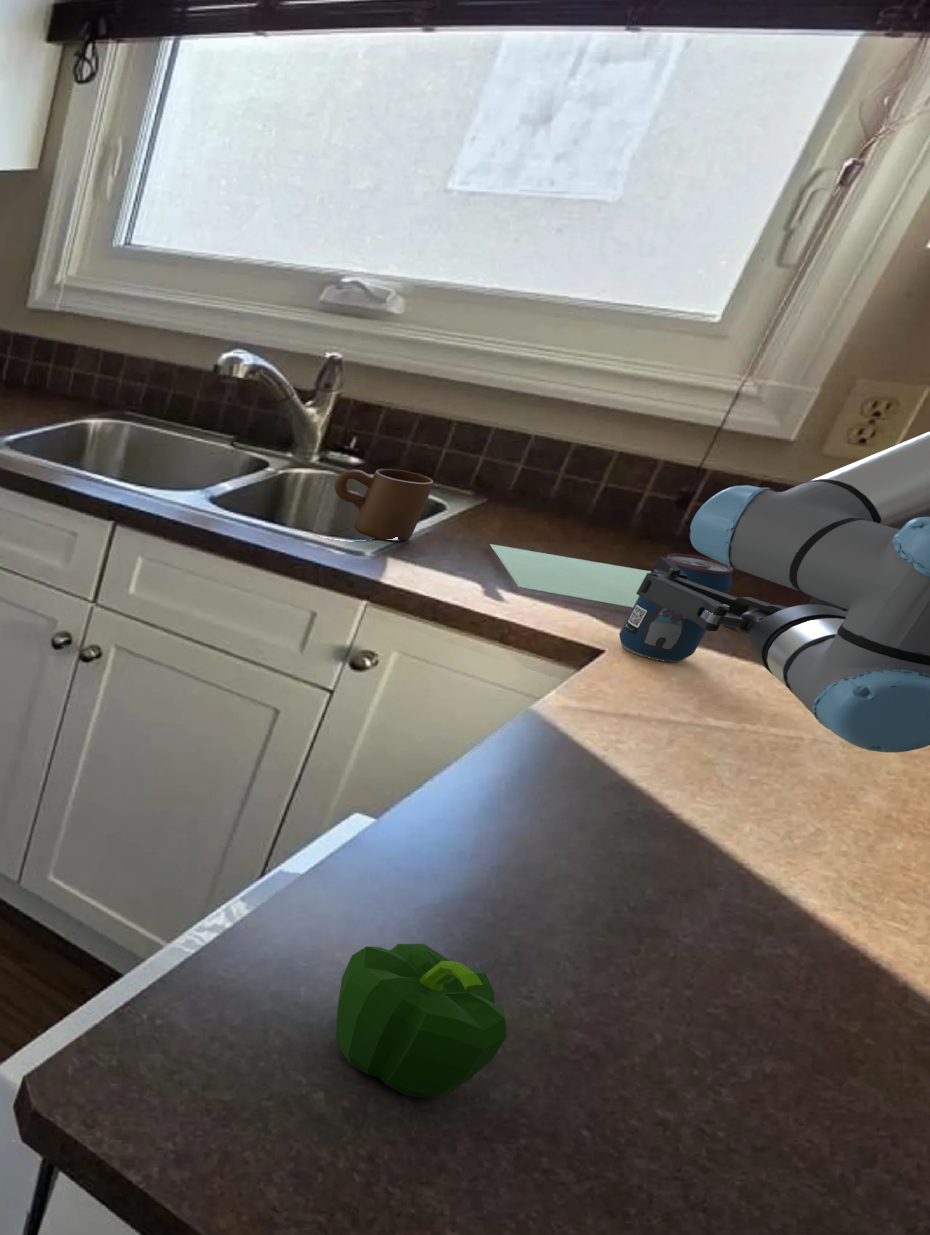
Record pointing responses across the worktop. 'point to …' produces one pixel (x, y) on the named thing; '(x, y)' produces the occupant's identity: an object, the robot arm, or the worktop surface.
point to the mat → (572, 576)
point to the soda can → (672, 615)
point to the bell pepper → (417, 1019)
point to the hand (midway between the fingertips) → (735, 581)
